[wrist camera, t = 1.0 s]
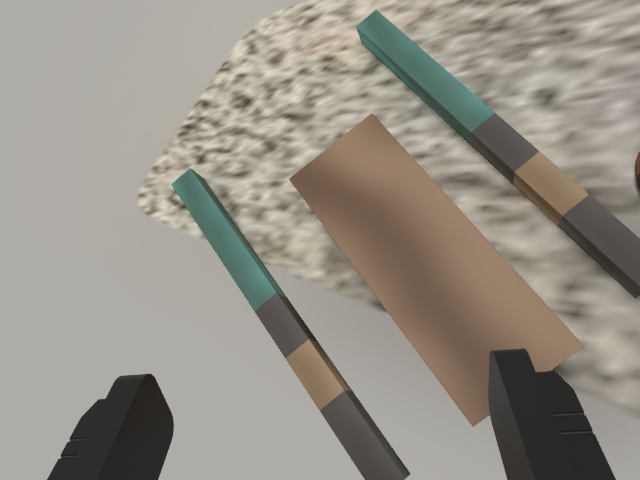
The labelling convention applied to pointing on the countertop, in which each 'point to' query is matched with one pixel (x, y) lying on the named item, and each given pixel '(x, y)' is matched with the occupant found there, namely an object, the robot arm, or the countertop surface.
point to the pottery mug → (638, 169)
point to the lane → (491, 142)
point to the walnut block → (429, 264)
